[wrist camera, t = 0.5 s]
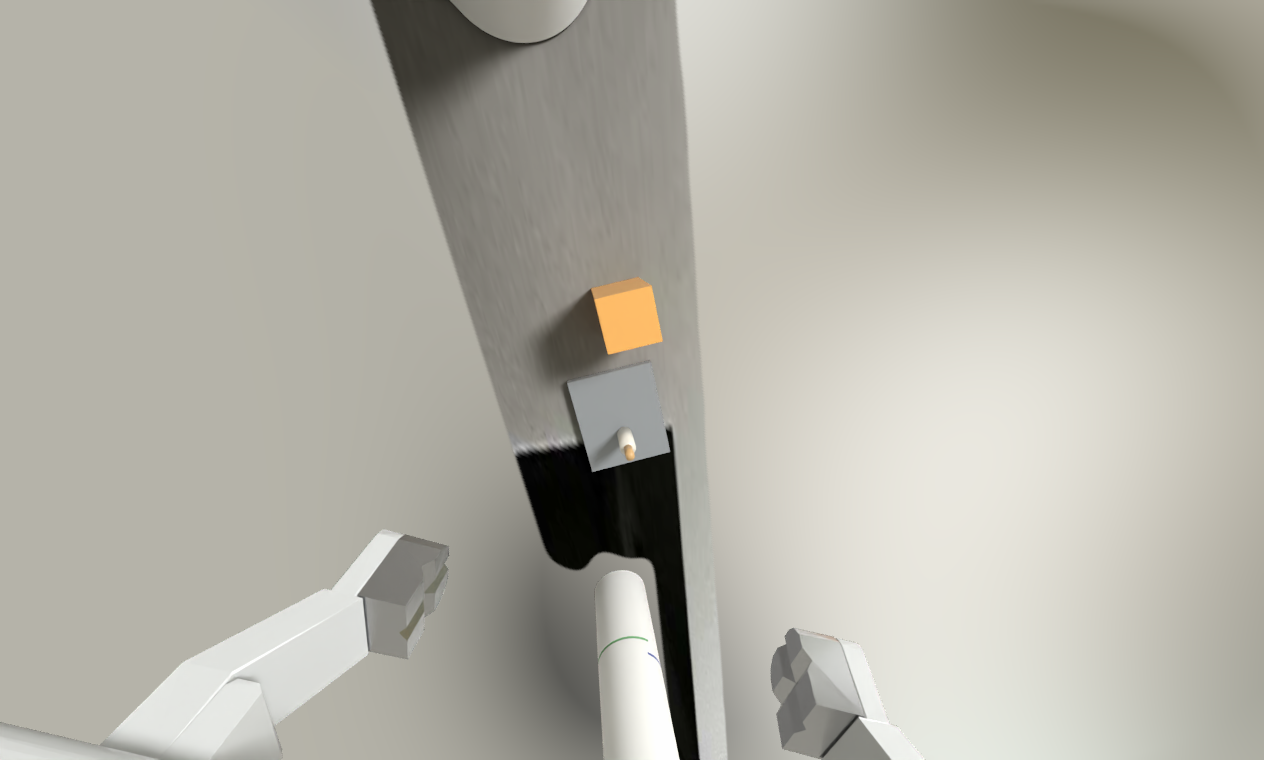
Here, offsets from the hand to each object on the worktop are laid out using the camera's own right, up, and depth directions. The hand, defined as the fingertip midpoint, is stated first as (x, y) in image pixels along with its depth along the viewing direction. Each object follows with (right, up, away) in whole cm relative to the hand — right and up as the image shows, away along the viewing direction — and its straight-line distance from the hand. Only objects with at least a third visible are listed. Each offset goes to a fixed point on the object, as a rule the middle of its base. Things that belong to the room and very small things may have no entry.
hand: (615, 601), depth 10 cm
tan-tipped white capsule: (-1, -1, +45) cm, 45 cm away
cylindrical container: (-1, -25, +52) cm, 58 cm away
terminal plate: (-1, +1, +44) cm, 44 cm away
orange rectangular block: (-1, +13, +40) cm, 42 cm away
